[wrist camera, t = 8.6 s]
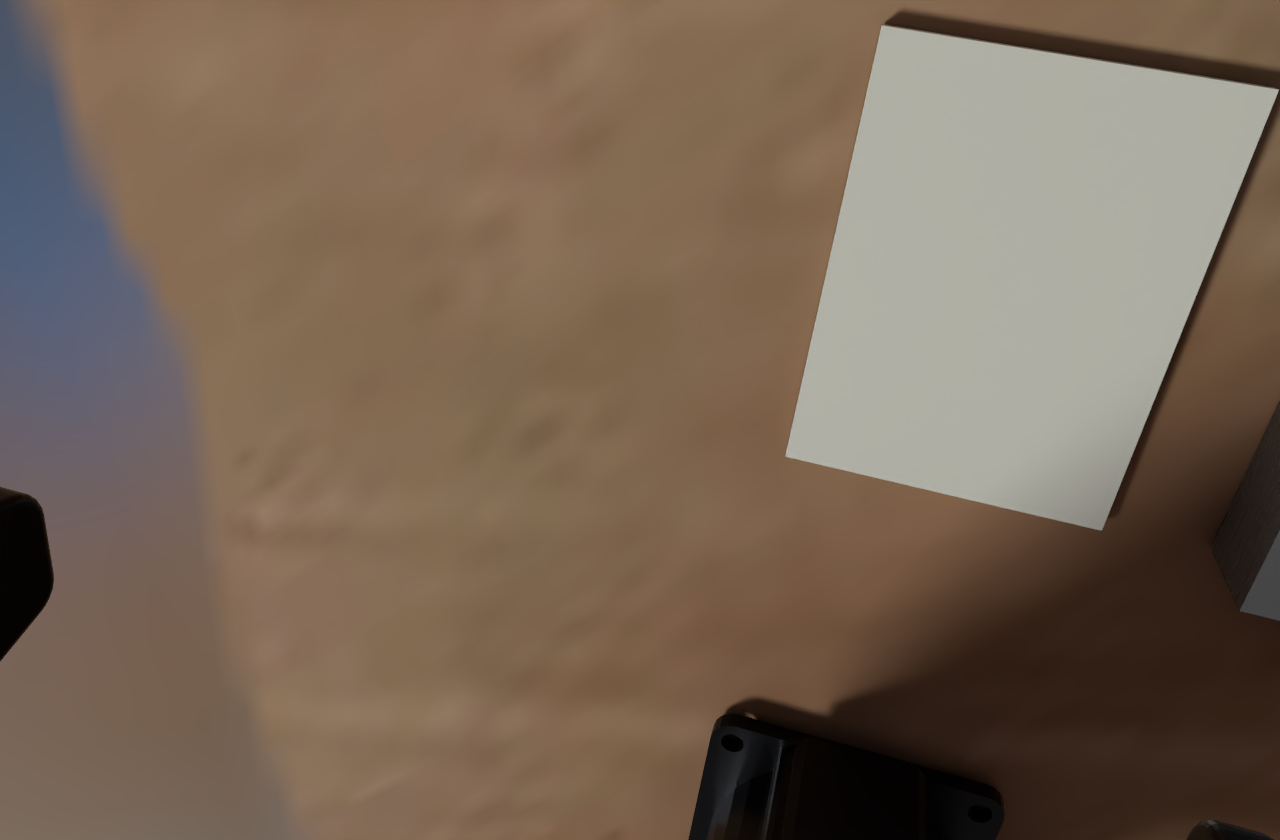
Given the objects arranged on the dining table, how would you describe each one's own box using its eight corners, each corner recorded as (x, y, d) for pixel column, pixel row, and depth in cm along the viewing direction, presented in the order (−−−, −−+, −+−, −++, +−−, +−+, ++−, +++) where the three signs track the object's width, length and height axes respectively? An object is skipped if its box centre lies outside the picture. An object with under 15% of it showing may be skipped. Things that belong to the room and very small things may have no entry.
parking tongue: (1099, 522, 19) (1101, 530, 19) (787, 449, 20) (785, 456, 20) (1273, 87, 16) (1278, 89, 15) (882, 24, 17) (881, 25, 16)
